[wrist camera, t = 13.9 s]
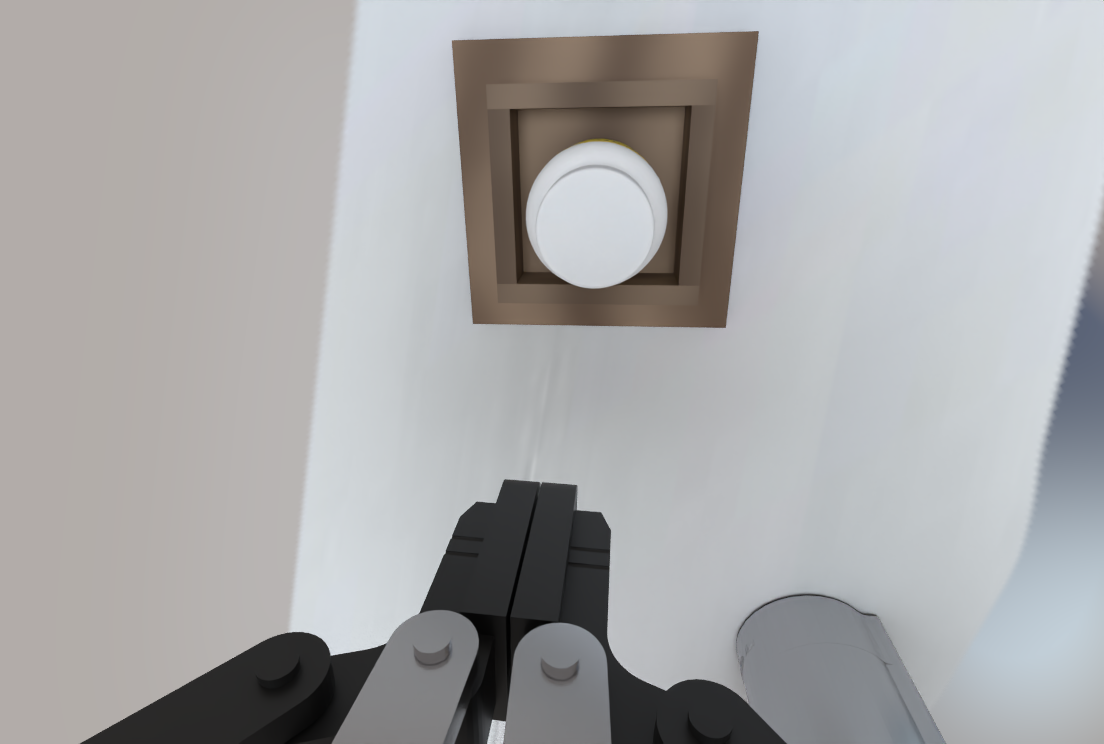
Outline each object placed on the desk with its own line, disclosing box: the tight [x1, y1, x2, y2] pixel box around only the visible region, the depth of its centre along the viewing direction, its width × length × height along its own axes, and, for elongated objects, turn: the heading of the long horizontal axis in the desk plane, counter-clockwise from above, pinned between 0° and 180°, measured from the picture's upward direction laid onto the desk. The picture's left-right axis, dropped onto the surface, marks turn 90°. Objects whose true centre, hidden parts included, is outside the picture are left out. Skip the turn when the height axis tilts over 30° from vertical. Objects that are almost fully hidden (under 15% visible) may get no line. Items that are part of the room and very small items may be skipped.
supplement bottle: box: [526, 138, 667, 289], centre depth 25 cm, size 6×6×10 cm
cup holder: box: [452, 31, 759, 328], centre depth 28 cm, size 14×14×4 cm
